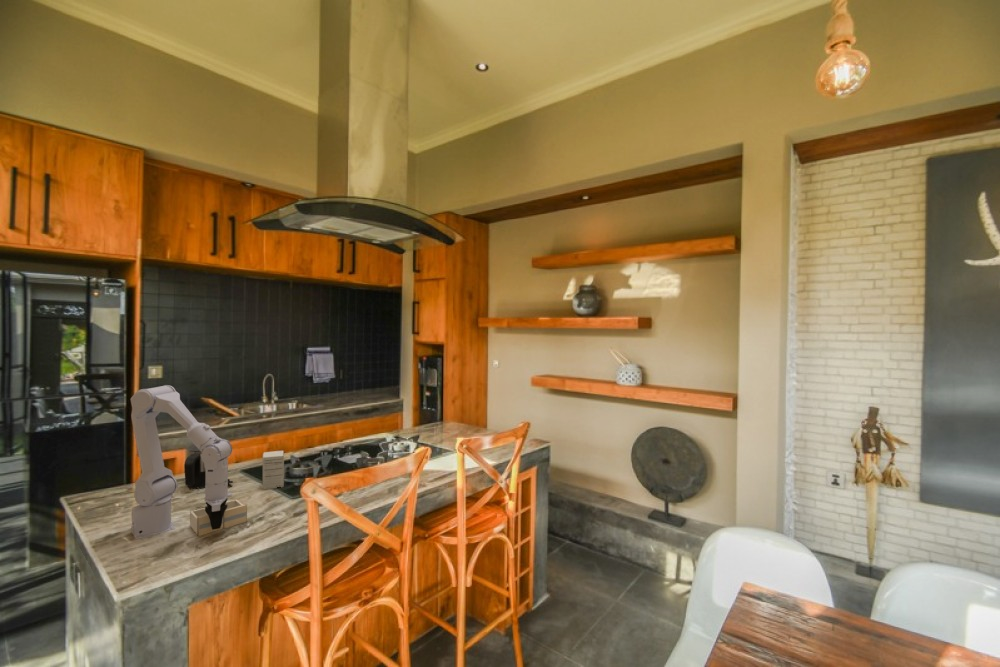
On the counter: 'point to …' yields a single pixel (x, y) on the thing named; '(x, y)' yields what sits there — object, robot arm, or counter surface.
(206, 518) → the flap left
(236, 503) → the carton
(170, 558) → the counter surface
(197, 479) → the milk frother
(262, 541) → the counter surface
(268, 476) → the supplement box
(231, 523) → the flap right
